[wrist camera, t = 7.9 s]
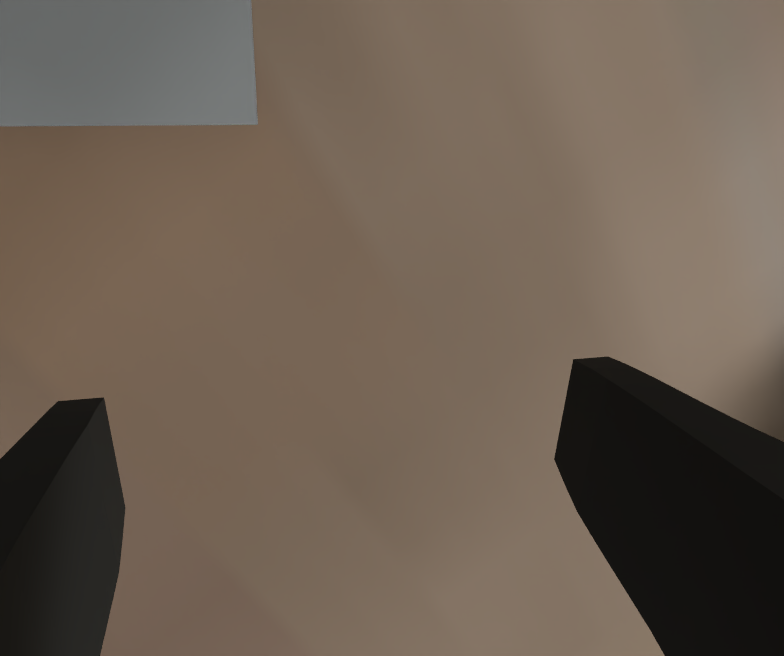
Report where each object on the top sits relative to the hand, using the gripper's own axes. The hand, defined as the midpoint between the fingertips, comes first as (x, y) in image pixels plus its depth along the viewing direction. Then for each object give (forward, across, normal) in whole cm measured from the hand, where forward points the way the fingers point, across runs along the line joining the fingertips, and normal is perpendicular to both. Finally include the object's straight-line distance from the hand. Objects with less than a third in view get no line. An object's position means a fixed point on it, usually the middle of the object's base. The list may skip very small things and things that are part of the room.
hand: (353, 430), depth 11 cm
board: (+9, +8, -10) cm, 15 cm away
